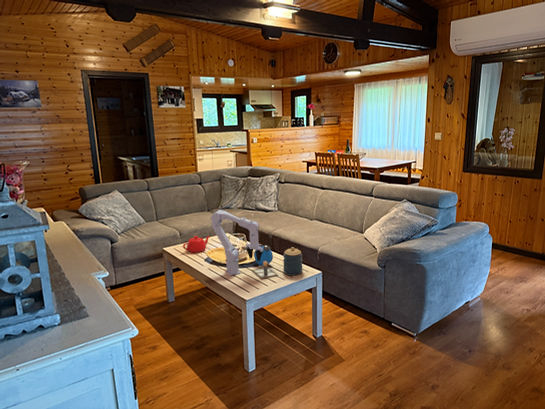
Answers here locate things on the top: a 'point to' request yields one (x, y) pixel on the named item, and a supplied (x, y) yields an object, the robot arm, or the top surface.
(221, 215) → the robot arm
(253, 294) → the top surface
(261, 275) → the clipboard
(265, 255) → the alarm clock
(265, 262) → the marker
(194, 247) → the teapot
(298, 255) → the canister
